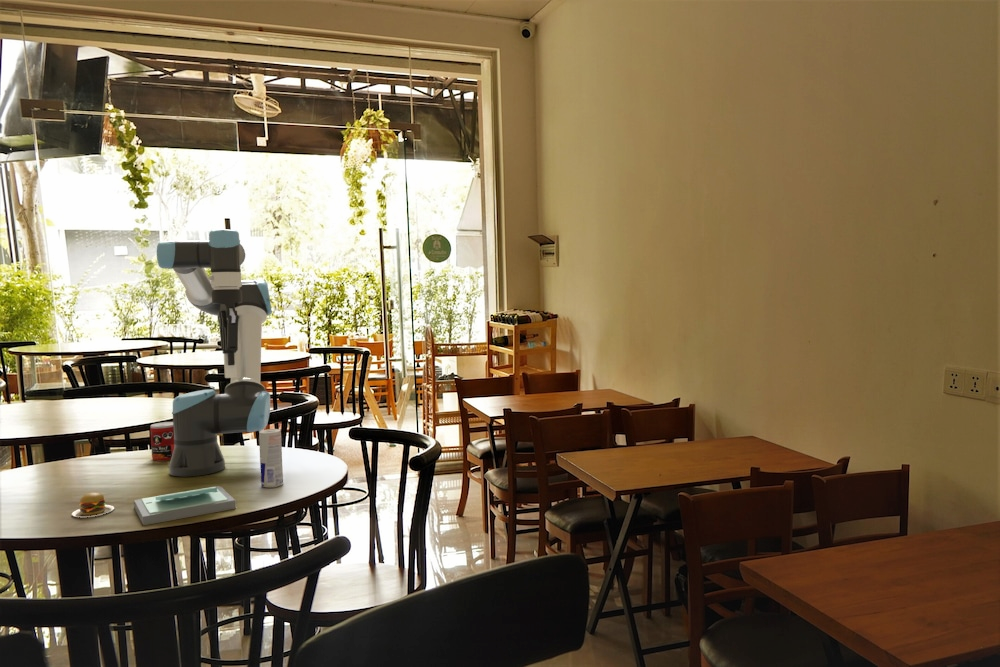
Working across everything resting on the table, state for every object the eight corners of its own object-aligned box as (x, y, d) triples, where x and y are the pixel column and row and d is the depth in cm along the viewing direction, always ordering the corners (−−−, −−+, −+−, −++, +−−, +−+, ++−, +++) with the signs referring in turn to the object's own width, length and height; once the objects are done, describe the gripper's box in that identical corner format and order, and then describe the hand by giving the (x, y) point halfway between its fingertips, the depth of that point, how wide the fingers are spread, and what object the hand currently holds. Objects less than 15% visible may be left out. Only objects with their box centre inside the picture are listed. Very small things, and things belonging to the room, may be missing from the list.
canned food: (146, 461, 222) (144, 426, 222) (162, 455, 230) (161, 421, 229) (168, 461, 221) (167, 426, 220) (184, 455, 229) (182, 421, 228)
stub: (155, 496, 169) (161, 496, 161) (208, 488, 176) (216, 487, 168) (155, 500, 169) (161, 500, 161) (208, 491, 176) (217, 491, 168)
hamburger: (119, 504, 178) (118, 483, 178) (124, 516, 168) (123, 494, 168) (63, 513, 171) (62, 491, 171) (65, 526, 161) (63, 503, 161)
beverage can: (286, 482, 192) (284, 428, 191) (278, 488, 187) (275, 432, 186) (266, 482, 193) (264, 428, 192) (257, 488, 187) (255, 432, 186)
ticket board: (134, 508, 172) (133, 498, 172) (220, 493, 183) (220, 484, 183) (143, 525, 159) (142, 514, 159) (235, 508, 170) (235, 498, 170)
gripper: (206, 289, 190) (210, 376, 192) (217, 288, 180) (221, 380, 181) (235, 288, 195) (239, 374, 196) (247, 288, 184) (251, 378, 185)
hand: (230, 377), depth 188 cm, fingers closed
